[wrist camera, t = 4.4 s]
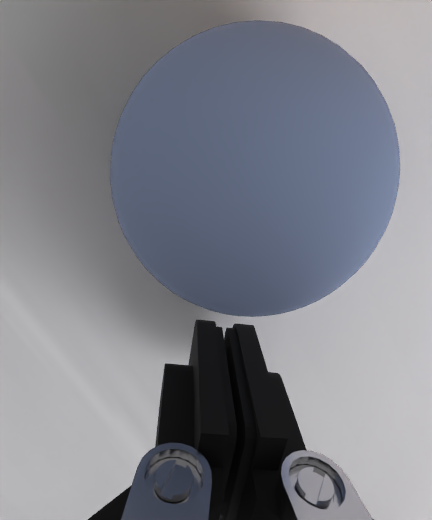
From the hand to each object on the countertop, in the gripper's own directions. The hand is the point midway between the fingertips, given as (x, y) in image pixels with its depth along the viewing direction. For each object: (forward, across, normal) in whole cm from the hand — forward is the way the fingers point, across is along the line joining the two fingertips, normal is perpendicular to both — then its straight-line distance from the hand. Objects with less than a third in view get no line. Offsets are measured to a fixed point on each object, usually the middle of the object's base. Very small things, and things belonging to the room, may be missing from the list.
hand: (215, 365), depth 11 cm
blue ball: (-1, 0, -6) cm, 6 cm away
